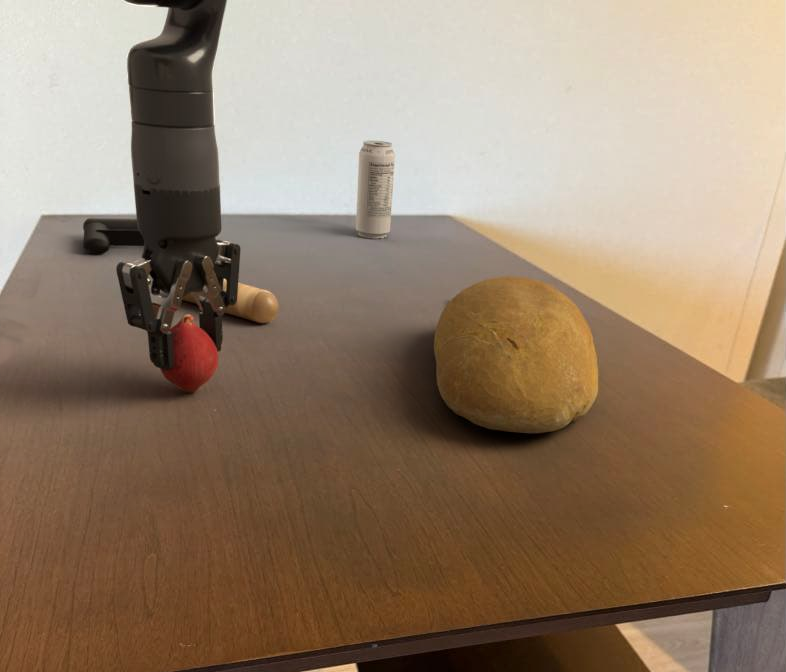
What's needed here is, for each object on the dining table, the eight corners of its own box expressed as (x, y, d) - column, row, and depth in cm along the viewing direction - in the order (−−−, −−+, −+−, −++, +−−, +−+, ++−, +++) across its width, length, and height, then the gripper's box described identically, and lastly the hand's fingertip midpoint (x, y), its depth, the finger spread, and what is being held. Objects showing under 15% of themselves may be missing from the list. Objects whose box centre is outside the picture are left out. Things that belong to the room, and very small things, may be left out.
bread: (432, 443, 80) (443, 341, 75) (431, 325, 110) (438, 246, 105) (625, 458, 81) (649, 357, 75) (571, 336, 110) (586, 258, 105)
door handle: (221, 245, 127) (210, 214, 139) (80, 245, 122) (82, 213, 134) (222, 267, 129) (211, 235, 141) (83, 268, 124) (84, 234, 136)
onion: (183, 408, 83) (177, 328, 79) (149, 390, 86) (142, 312, 82) (230, 394, 87) (228, 317, 83) (196, 377, 90) (192, 302, 86)
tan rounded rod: (158, 297, 112) (156, 267, 110) (180, 291, 115) (178, 261, 113) (264, 329, 104) (264, 297, 102) (285, 322, 107) (285, 290, 105)
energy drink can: (381, 230, 154) (386, 140, 146) (394, 239, 149) (401, 145, 141) (350, 231, 151) (354, 139, 143) (363, 240, 147) (367, 145, 139)
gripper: (202, 164, 83) (210, 333, 91) (83, 180, 72) (105, 369, 81) (262, 176, 79) (264, 350, 88) (146, 195, 69) (161, 389, 78)
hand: (187, 358), depth 85 cm, fingers closed on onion, 6 cm apart
